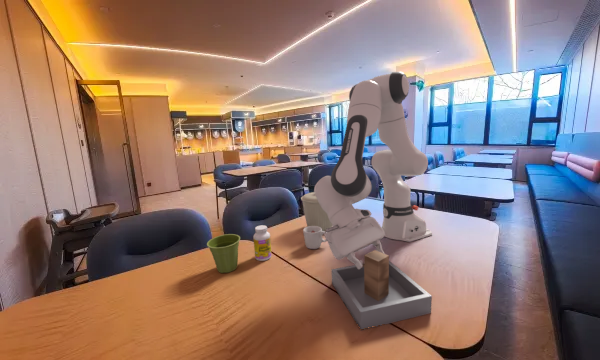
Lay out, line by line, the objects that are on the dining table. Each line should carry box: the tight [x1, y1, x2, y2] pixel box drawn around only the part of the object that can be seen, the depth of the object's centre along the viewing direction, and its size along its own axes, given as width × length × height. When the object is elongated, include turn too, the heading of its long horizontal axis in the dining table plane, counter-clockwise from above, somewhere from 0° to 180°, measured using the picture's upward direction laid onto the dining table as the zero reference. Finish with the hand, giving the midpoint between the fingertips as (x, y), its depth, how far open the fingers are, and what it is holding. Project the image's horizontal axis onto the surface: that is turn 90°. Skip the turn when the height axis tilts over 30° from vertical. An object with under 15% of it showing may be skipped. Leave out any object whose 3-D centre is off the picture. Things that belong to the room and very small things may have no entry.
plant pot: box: [206, 233, 241, 274], centre depth 90 cm, size 12×12×11 cm
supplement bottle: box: [252, 224, 272, 262], centre depth 97 cm, size 7×7×13 cm
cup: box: [302, 226, 328, 250], centre depth 104 cm, size 11×8×8 cm
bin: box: [331, 260, 433, 330], centre depth 70 cm, size 20×20×5 cm
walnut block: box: [363, 249, 390, 301], centre depth 70 cm, size 5×5×12 cm
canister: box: [300, 191, 333, 231], centre depth 124 cm, size 18×18×21 cm
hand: (372, 261), depth 70 cm, fingers open, 8 cm apart
